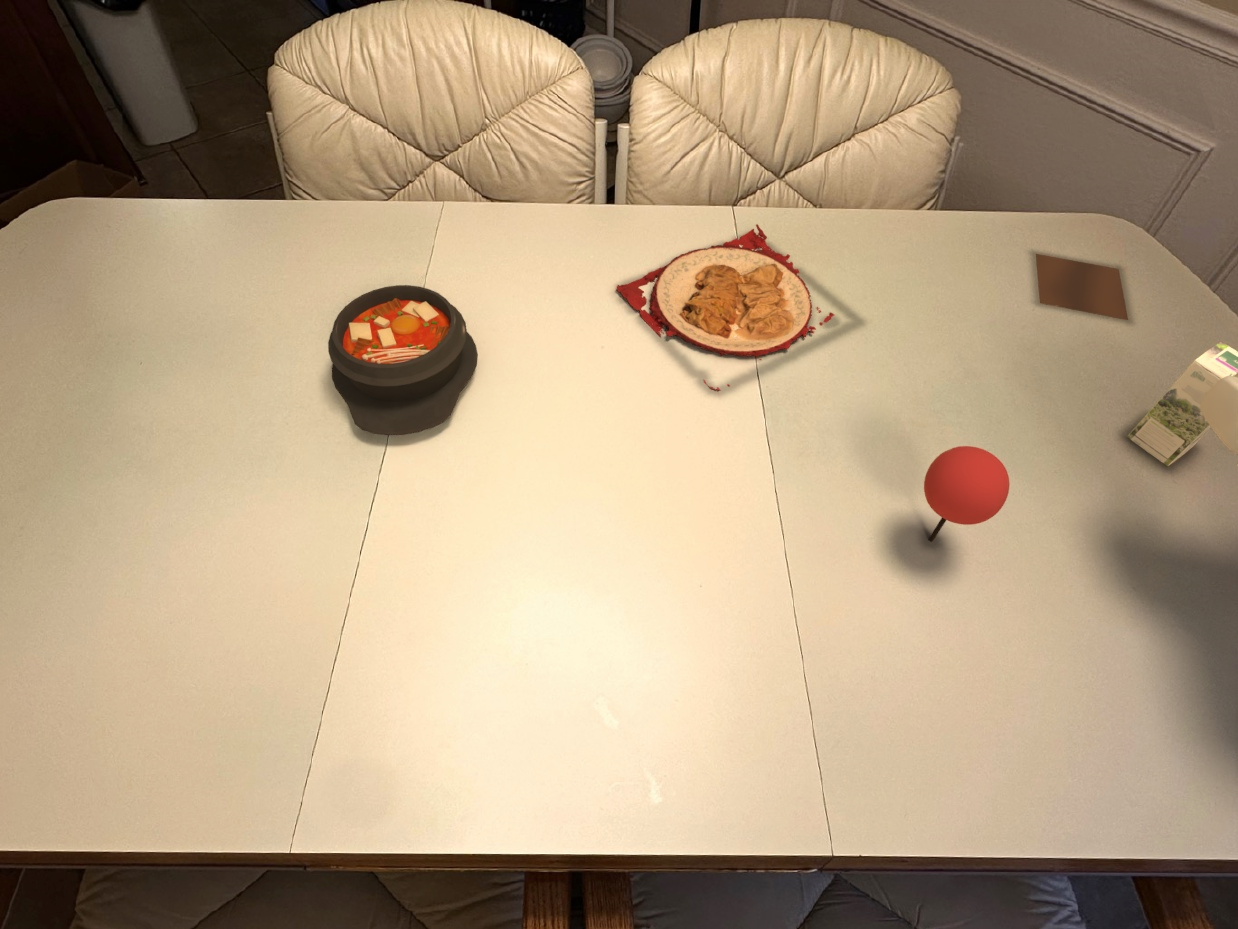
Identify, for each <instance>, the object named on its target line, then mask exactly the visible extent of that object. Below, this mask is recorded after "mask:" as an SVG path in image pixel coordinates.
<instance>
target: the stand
mask: <svg viewBox="0 0 1238 929" xmlns="http://www.w3.org/2000/svg"><path fill="white" fill-rule="evenodd" d="M1035 261H1036V262H1035V263H1036V271H1037V285H1038V297H1039V304H1041V305H1046V306H1047V305H1048V306H1052V307H1057V308H1062V309H1067V310H1072V311H1077V312H1083V313H1087V314H1092V315H1098V316H1104V317H1109V318H1113V319H1120V320H1124V321H1129V317H1128V316H1129V315H1128V311H1127V306H1126V302H1125V296H1124V290H1123V284H1122V280H1121V275H1120V273H1121V272H1120V269H1119V268H1115V267H1110V266H1105V265H1100V264H1095V263H1088V262H1083V261H1078V260H1073V259H1066V258H1061V257H1056V256H1052V255H1051V256H1050V255H1045V254H1039V253H1035Z"/></svg>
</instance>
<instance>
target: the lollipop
mask: <svg viewBox="0 0 1238 929" xmlns="http://www.w3.org/2000/svg"><path fill="white" fill-rule="evenodd" d="M923 492H924V496H925V499H926V500H925V501H926V502H927V504H928V506H929V507H930V508H931V510H932V511H934V513H935V514H936V515H938V516H939V517H941V518H940V520H939V521H938V523H937V525H935V527H934V529H933V531H932V532H931V534H930V536H929V538H928V542H929V543H932V542H934V540H935V538H936V537H937V536H938V535H939V533H940V531H941V529H942V528H943V526H944V525H945V523H946V522H947V521H948V522H950V523H953V524H958V525H965V526H966V525H967V526H970V525H971V526H972V525H977V524H983V523H984V522H986V521H988V520H990V519H992V518H994V517H995V516H996V515H997V514H998V513H999V512H1000V511H1001V510H1002V508H1003V506H1004V505H1005V503H1006V501H1007V499H1008V497H1009V493H1010V477H1009V473H1008V471H1007V468H1006V467H1005V465H1004V463H1003V462H1002V461H1001V460H1000V459H999V458H998V457H997V456H996V455H994V454H993V453H991V452H990V451H988V450H986V449H983V448H980V447H976V446H972V445H971V446H970V445H961V446H955V447H952V448H948V449H946V450H945V451H943V452H942V453H939V455H937V456H936V457H935V459H934V460H933V461H932V462H931V464H930V465H929V466H928V468H927V470H926V474H925V476H924V480H923Z"/></svg>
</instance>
